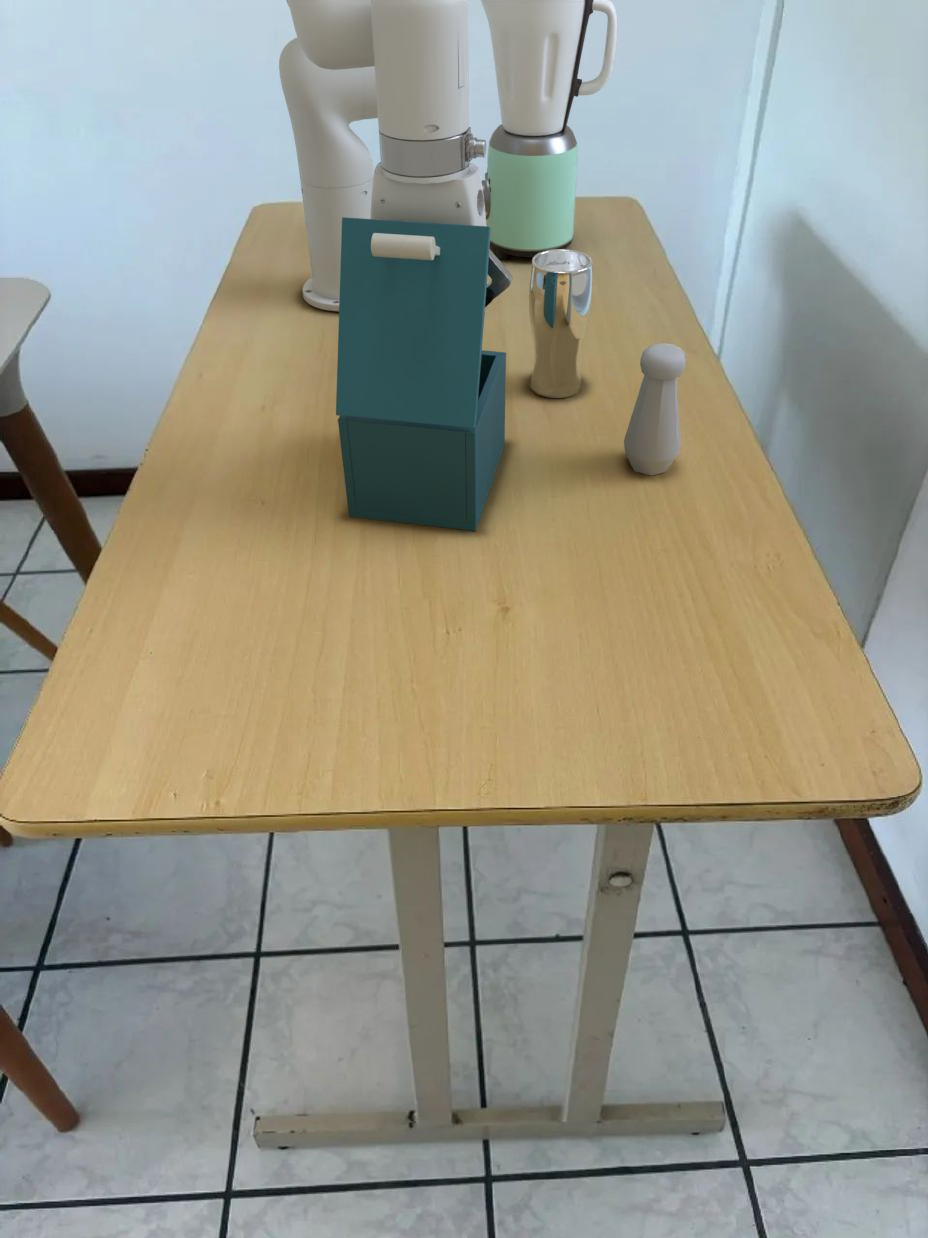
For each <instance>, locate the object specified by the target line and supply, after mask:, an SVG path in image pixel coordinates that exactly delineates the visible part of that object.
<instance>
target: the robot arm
mask: <svg viewBox="0 0 928 1238" xmlns="http://www.w3.org/2000/svg"><path fill="white" fill-rule="evenodd" d="M285 2H286V4H287V6H288V7H289V10H290V15H291V19H292V22H293V27H294V31H295V34H296V37H295V38H292V39H291V40H290V41H289V42H287V43H286V44H285V45H284V47H283V48H282V50H281V52H280V55H279V59H278V70H279V78H280V85H281V89H282V92H283V96H284V99H285V104H286V107H287V111H288V116H289V119H290V124H291V129H292V133H293V139H294V144H295V151H296V158H297V164H298V165H297V166H298V174H299V179H300V180H299V181H300V189H301V197H302V205H303V212H304V213H303V214H304V221H305V230H306V237H307V245H308V246H307V247H308V254H309V262H310V263H309V264H310V271H311V277H310V278H308V279H307V280H306V281H305V283H304V284H303V286H302V289H301V290H302V297H303V300H304V301H305V302H306V303H307V304H308V305H310V306H312V307H314V308H316V309H320V310H324V311H327V312H336V313H339V299H340V267H341V235H342V218H343V217H345V218H362V219H378V220H394V221H410V222H426V223H442V224H458V225H474V226H487V220H486V212H485V204H484V194H483V188H482V176H481V172H480V168H479V166H478V164H476V163H473V162H472V160H473V159H475V160H476V159H477V158H486V155H487V140H486V139H479V138H478V137H474V134H473V133H472V127H471V126H470V102H469V101H470V97H469V96H470V95H469V93H470V90H469V89H470V87H469V85H470V84H469V76H470V75H469V5H468V0H285ZM373 119H374V120H375V119H377V124H378V140H379V155H380V156H379V157H380V162H378V163H377V164H376V166H375V167H374V162H373V158H372V154H371V152H370V150H369V148H368V147H367V145H366V144H365V142H364V141H363V140H362V139H361V138H360V137H359V136H358V135H357V134H356V133H355V131H354V130H352V129H351V127H350V124H351V123H353V122H359V121H362V120H373ZM487 276H488V277H489V278H490V279H491V281H489V283H487V288H486V301H485V308H487V307H488V306H489V305H491V303H492V302H493V300H495V299H496V298H497V297H499V296H500V295H501V294H502V293H503V292H504V291H505V290H507V289H508V288H509V287H510V286H511V284H512V281H513V273H511V271H509V270H508V268H507V267H506V266H505V265H504V264H503V263H502V262H501V259H498V258H497V257H496V254H495V253H494V252H493V251H492V250H491V249H489V262H488V275H487Z"/></svg>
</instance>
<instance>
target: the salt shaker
mask: <svg viewBox="0 0 928 1238" xmlns="http://www.w3.org/2000/svg"><path fill="white" fill-rule="evenodd" d="M686 359H687V358H686V353H685V352H684V351H683V349H682V348H680V347H679V346H678V345H675V344H672V343H664V342H661V343H653V344H650V345H649V346H647V347H645V349H644V350H643V351H642V353H641V356H640V359H639V360H640V362H639V366H640V370H641V373H642V374H643V378H642V381H641V384H640V387H639V391H638V394H637V397H636V400H635V403H634V407H633V410H632V413H631V416H630V419H629V422H628V426H627V429H626V433H625V435H624V439H623V446H624V447H623V448H624V452H625V455H626V458H627V459H628V463H629V464H630V466H631V468H632V469H633V471H634V472H636V473H639V474H643V475H647V476H655V475H659V474H664V473H666V472H667V471H668V470H669V468H670V467H671V466H672V464H673V463H674V461H675V460H676V458H677V457H678V456H679V454H680V451H681V449H682V448H681V447H682V446H681V432H680V431H681V430H680V418H679V417H680V415H679V398H678V395H679V394H678V378H680V377H681V376H682V375H683V373H684V372H685V370H686V365H687V360H686Z"/></svg>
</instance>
